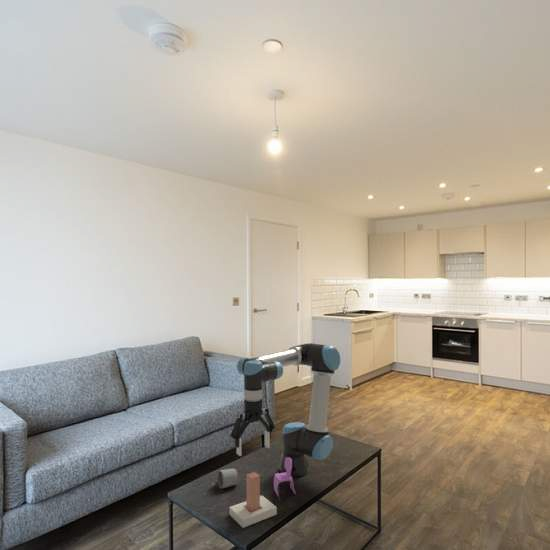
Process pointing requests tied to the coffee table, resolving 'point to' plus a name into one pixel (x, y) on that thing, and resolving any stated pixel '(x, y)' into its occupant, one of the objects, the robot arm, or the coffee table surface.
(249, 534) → the coffee table surface
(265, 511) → the socket block
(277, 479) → the toy chair
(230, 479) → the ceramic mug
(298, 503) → the coffee table surface
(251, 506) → the peg
